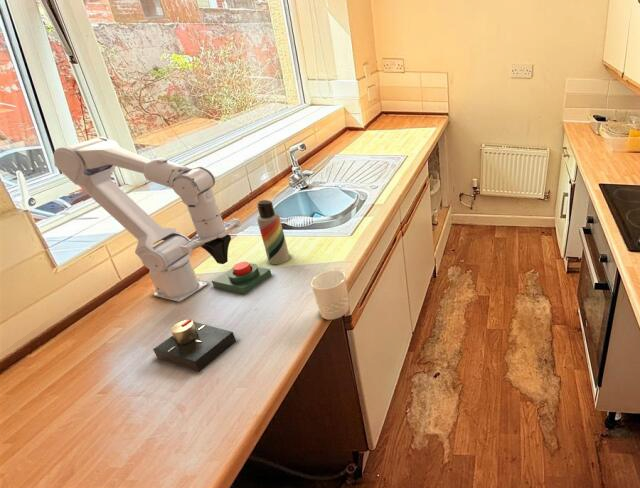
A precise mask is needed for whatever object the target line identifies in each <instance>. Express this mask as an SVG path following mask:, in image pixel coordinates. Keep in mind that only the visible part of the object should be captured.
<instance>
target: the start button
mask: <svg viewBox="0 0 640 488" xmlns="http://www.w3.org/2000/svg"><path fill="white" fill-rule="evenodd" d="M232 268H233V271H234V274H235V275H243V274H246V273H248V272H250V271H251V267H250V262H249V261H240V262H237V263H236V264H234V265H233V266H232Z"/></svg>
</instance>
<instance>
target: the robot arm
mask: <svg viewBox="0 0 640 488" xmlns="http://www.w3.org/2000/svg"><path fill="white" fill-rule="evenodd" d="M53 161H54V167H56V168H57V169H58V170H59V171H60V172H61V173H62V174H63V175H64V176H66V177H67V179H69V180H70V181H71V182H72V183H73V184H74V185H76V186H78V187H80V188H81V190H83V191H84V192H85V193H86V194H87V195H89V197H90V198H91V199H92V200H94V201H95V202H96V203H97V204H98V205H99V206H100V207H101V208H102V209H103V210H104V211H106V212H107V214H109V215H110V216H111V217H112V218H113V219H114V220H115V221H116V222H118V223H119V224H120V225H121V226H122V227H123V228H124V229H125V230H127V232H128V233H130V234H131V236H133V237H134V238H135V239H136V240H138V241H137V244H136V247H135V251H134V253H135V255H137V256H138V258H139V259H140V260H141V263H142V264H143V266H144V267H146V268H147V269H148V270H149V273H148V274H149V277H150V279H151V282H152V284H153V286H154V288H155V290H156V292H154V293H153V296H154V297H158V298H163V299H167V300H170V301H174V302H182V301H184V300H185V299H187V298H189V297H191V296H192V295H193V294H195V293H197V292H198V291H200V290H201V289H203V288H205V287H206V286H208V283H207V282H204V281H199V279H198V278H197V274H196V272H195V269H194V266H193V264H192V261H191V259H190V258H191V257H192V253H194V251H195V250H197V249H199V248H200V247H201V248H202V249H203V250H205V251H206V252H207V253H208V254H209V255H210V256H211V257H212V259H214V261H215V262H216V263H217V264H219V265H226V263H228V260H229V258H228V256H229V247H230V243H231V241H232V237H231V235H230V234H228V232H230V231H232V230H234V229H235V228H240V227H242V223H241V220H240V219H239V218H231V219H229V220H227V221H223V217H222V215H221V212H220V209H219V206H218V203H217V200H216V197H215V194H214V191H213V189H212V188H214V186H215V184H216V178H215V176H214V174H213V173H212V172H211V171H210V170H208V169H207V168H205V167H203V166H195V167H187V166H186V165H181V164H178V163H175V162H172V161H169V160H168V159H167V158H164V157H159V158H158V157H157V158H154V159H152V160H151V159H149V158H146V157H144V156H141V155H139V154H137V153H134V152H132V151H130V150H127V149H125V148H123V147H121V146H120V145H119V144H118V143H117V141H116V140H112V139H109V138H108V137H104V136H98V137H94V138H93V139H89V140H86V141H82V142H78V143H75V144H70V145H67V146H63V147H61V146H60V147H58V148H56V149H55V150H54V152H53ZM116 167H118V168H122V169H125V170H128V171H133V172H136V173H139V174H143V176H144V178H145V180H147V181H149V182H152V183H155V184H158V185H161V186H163V187H166V188H169V189H172V190H173V192H174V193H175V194H176V195H177V196H179V197H180V199H181V202H182V203H184V205H186V207H187V211H188V213H189V215H190V218H191V221H192V223H193V226H194V229H195V232H196V234H195V235H194V236H192V238H189V237H188V236H187V235H185V234H183V233H181V232H180V231H178V229H176V228H174V227H163V226H161V225H160V224H158V223H157V222H156V221H155V220H154V219H153V218H152V217H151V216H150V215H149V214H148V213H147V212H146V211H145V210H144V209H143V208H142V207H140V206H139V205H138V204H137V203H136V202H135V201H134V200H133V199H132V198H131V197H130V196H129V195H128V194H127V193H126V192H125V191H124V190H123V189H122V188H120V186H118V184H116V183H115V182H114V181H113V180H112V174H113V173H114V172H115V170H116Z"/></svg>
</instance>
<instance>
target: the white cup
mask: <svg viewBox="0 0 640 488" xmlns="http://www.w3.org/2000/svg"><path fill="white" fill-rule="evenodd" d="M347 283H348V282H347V277H346V273H345V272H343V271H342V270H338V269H329V270H326V271H323V272H320V273H318V274H317V275H315V276H314V277H313V278H312V280H311V281H310V285H311V288H312V292H313V296H314V298H315V302H316V305H317V308H318V310H319V313H320V316H321V318H322V319H325V320H328V321H329V320H331V321H333V320H336V319H340V318H342V317H344V316H345V315H347V313H348V312H349V308H350V303H349V292H348V285H347Z"/></svg>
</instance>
